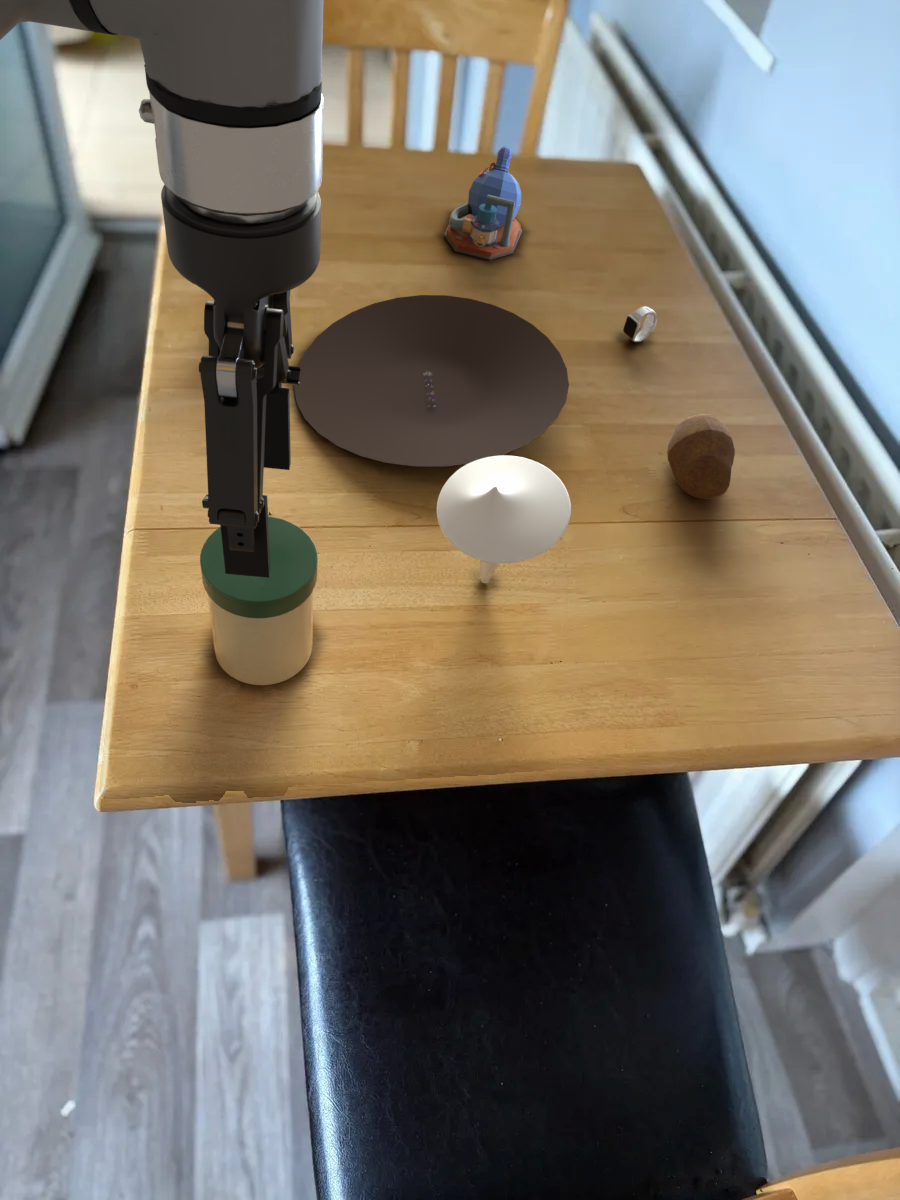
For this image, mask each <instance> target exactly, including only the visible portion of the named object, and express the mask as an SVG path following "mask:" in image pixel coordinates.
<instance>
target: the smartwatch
mask: <svg viewBox="0 0 900 1200" xmlns="http://www.w3.org/2000/svg"><path fill="white" fill-rule="evenodd" d="M645 316H646V317H645ZM644 317H645V319H644V322H643V327H642V328H640V327H641V320H642V319H643V318H644ZM657 324H658V314H657V313H656V312H655V311H654V309H652V308H651V307H649V306H641V307H639V308H637V309H635V310H634V311H633V312H632V313H630V314H628V315H627V316H626V318H625V322H624V326H623V329H622V331H623V333H624V334H625V335H626V337H628V338H629V339H630V340H631V341H632V342H635V343H641V342H642V341H644V340H646V339H647V338H648V337H649V336H650V335H651V334H652V333H653V332H654V331H655V329H656V326H657ZM640 329H641V330H640Z"/></svg>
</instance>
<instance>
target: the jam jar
mask: <svg viewBox="0 0 900 1200" xmlns="http://www.w3.org/2000/svg"><path fill="white" fill-rule="evenodd" d="M207 599H208V600H207V601H208V607H209V608H208V609H209V614H210V622H211V623H210V625H211V632H212V641H213V649H214V650H213V651H214V656H215V658H216V661H217V663H218V665H219V666H220V667H221V669H222V670H223V671H224V672H225V673H226V674H228V675H229V676H230V677H231V678H234V679H235V680H237V681H239V682H241V683H245V684H247V685H253V686H268V685H269V686H270V685H275V684H279V683H283V682H285V681H288V680H290V679H292V678H294V676H296V675H297V674H299V672H301V671H302V670H303V669H304V668H305V666H306V665H307V663H308V662H309V660H310V658H311V655H312V652H313V633H314V632H313V630H314V629H313V626H314V622H313V621H314V590H313V591H312V593H311V594H310V596H309V597H308V598H307V599H306V601H305V602H304V603H302V604H301V605H300V606H299V607H297V608H295V609H294V610H292V611H290V612H288V613H285V614H282V615H280V616H275V617H270V618H247V617H242V616H238V615H235V614H232V613H230V612H228V611H226V610H224V609H222V608H221V607H219V606H218V605H217V604H216V603H215V602H214V601H213V600H212V599H211V598H210V597H209V595H208V594H207Z"/></svg>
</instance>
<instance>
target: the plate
mask: <svg viewBox="0 0 900 1200" xmlns="http://www.w3.org/2000/svg"><path fill="white" fill-rule="evenodd" d="M297 367H301V376H300V384H299V385H293V390H294V396H295V403H296V404H297V406H298V409H299V410H300V413H301V414H302V416H303V418H304V420H305V421H306V422H307V423H308V424H309V425H310V426H311V428H313V430H315V432H317V433H318V434H319V435H320V436H322V437H323V438H325V439H326V440H327V441H329V442H330V443H332V444H333V445H335V446H337V447H339V448H341V449H344V450H345V451H348V452H350V453H353V454H355V455H357V456H360V457H363V458H367V459H371V460H374V461H377V462H378V461H379V462H382V463H386V464H392V465H400V466H401V465H402V466H409V467H451V466H461V465H467V464H469V463H471V462H473V461H476V460H479V459H482V458H486V457H491V456H505V455H506V454H508V453H510V452H513V451H516V450H518V449H520V448H522V447H525V446H526V445H527V444H529V443H530V442H532V441H534V440H535V439H536V438H538V437H540V436H541V435H543V434H544V433H545V432H546V431H547V430H548V429H549V427H550V426H551V425H553V423H555V421H556V420H557V419H558V418H559V416H560V414H561V412H562V410H563V408H564V407H565V404H566V402H567V399H568V393H569V388H570V382H569V375H568V368H567V366H566V364H565V362H564V359H563V356H562V355H561V353H560V351H559V349H557V347H556V346H555V345H554V343H553V342H552V341H551V340H550V338H549V337H548V336H547V335H546V334H544V333H543V332H542V331H541V330H540V329H538V328H537V327H536V326H535V325H534V324H533V323H531V322H529V321H528V320H526V319H525V318H522V317H521V316H519V315H517V314H516V313H514V312H511V311H510V310H509V311H508V310H506V309H504V308H502V307H500V306H498V305H496V304H495V305H494V304H492V303H488V302H484V301H480V300H477V299H473V298H468V297H461V296H453V295H445V294H419V295H410V296H408V295H407V296H400V297H394V298H389V299H386V300H381V301H378V302H373V303H372V304H368V305H366V306H364V307H361V308H358V309H356V310H353V311H351V312H350V313H348V314H346V315H345V316H343V317H341V318H339V319H338V320H335V321H334V322H332V323H331V324H330V325H328V327H326V328H325V329H324V330H322V332H320V333H319V334H318V335H316V337H315V338H314V339H313V341H312V342H311V343H310V344H309V346H308V347H307V348H306V349H305V351H304V352H303V354H302V356H301V358H300V360H299V363H298V364H297Z"/></svg>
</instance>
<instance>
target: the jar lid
mask: <svg viewBox="0 0 900 1200" xmlns="http://www.w3.org/2000/svg"><path fill="white" fill-rule="evenodd" d="M268 524H269V545H270V567H271V569H270V574H269V578H267V577H256V576H245V575H234V574H226V573H225V564H224V554H223V545H222V535H221V526H219V527H218V528H217V529H215V530H214V531H212V533H211V534H210V535H209V536H208V538H207V539H206V540H205V542H204V544H203V546H202V548H201V551H200V555H199V564H200V572H201V579H202V585H203V588H204V591H205V592H206V594H207V596H208V595H209V597H210V598H211V599H212V600H213V601H214V602H215V603H216V604H217V605H218V606H219V607H221V608H222V609H224V610H226V611H228V612H230V613H232V614H235V615H238V616H242V617H247V618H270V617H275V616H280V615H282V614H285V613H288V612H290V611H292V610H294V609H295V608H297V607H299V606H300V605H301V604H302V603H304V602H305V601H306V599H307V598H308V597H309V596H310V594H311V593H312V591H313V592H314V589H315V588H316V584H317V582H318V581H317V580H318V558H319V557H318V551H317V547H316V545H315V543H314V541H313V539H312V537H310V535H309V534H308V533H307V532H306V531H305V530H304V529H302V528H301V527H300V526H298V525H297V524H295V523H293V522H291V521H290V520H286V519H284V518H280V517H276V516H269V515H268Z"/></svg>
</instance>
